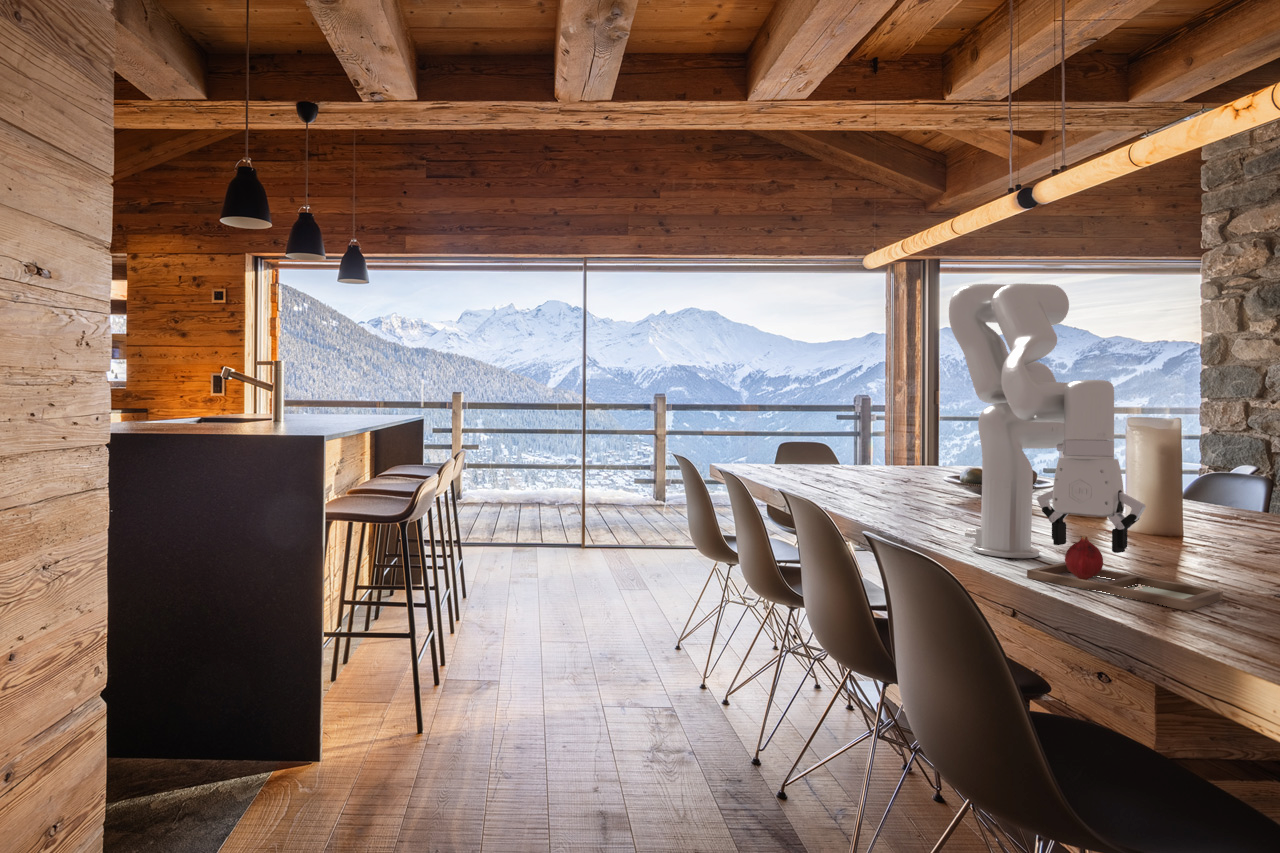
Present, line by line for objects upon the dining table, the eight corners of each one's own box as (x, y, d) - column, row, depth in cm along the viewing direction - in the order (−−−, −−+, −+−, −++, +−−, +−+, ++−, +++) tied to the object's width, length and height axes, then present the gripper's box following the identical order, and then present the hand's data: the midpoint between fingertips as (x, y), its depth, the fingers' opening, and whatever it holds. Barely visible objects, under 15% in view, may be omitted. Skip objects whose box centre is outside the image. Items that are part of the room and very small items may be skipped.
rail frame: (1026, 577, 130) (1027, 569, 130) (1063, 569, 137) (1064, 562, 137) (1188, 611, 109) (1189, 601, 109) (1222, 599, 116) (1222, 591, 116)
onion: (1108, 586, 125) (1110, 539, 124) (1071, 583, 126) (1073, 538, 125) (1094, 578, 130) (1095, 534, 130) (1059, 576, 131) (1060, 532, 131)
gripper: (1028, 449, 132) (1027, 543, 132) (1133, 451, 118) (1133, 557, 118) (1049, 449, 136) (1049, 540, 136) (1154, 451, 122) (1154, 553, 122)
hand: (1088, 548), depth 127 cm, fingers open, 9 cm apart
